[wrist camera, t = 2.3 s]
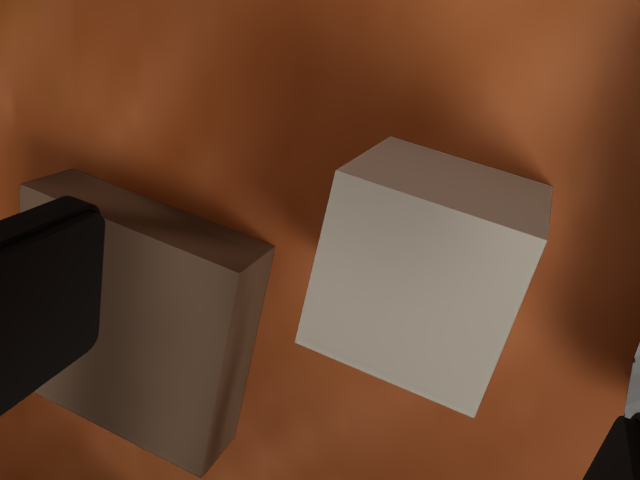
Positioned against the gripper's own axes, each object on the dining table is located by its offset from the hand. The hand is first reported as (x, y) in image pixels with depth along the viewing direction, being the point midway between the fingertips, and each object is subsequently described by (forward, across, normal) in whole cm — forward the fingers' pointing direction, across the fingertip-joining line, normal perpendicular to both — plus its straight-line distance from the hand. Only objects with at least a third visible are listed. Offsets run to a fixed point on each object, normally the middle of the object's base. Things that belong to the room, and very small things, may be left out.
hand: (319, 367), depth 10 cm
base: (+10, +9, +8) cm, 16 cm away
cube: (+10, -1, +1) cm, 10 cm away
